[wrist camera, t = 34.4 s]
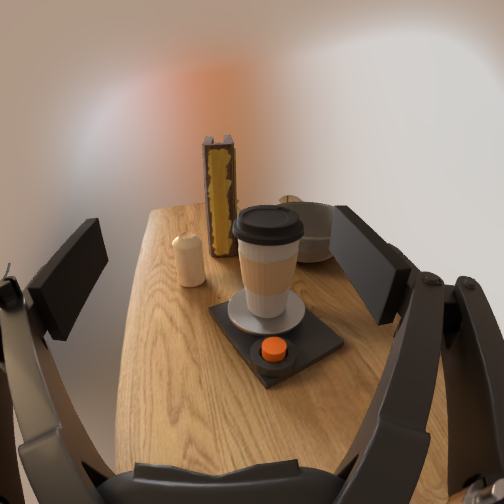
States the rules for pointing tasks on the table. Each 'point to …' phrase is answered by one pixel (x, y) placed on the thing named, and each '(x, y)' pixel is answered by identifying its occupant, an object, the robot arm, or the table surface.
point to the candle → (189, 259)
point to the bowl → (313, 230)
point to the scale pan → (263, 325)
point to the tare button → (274, 349)
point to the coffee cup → (268, 256)
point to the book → (220, 195)
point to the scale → (298, 344)
